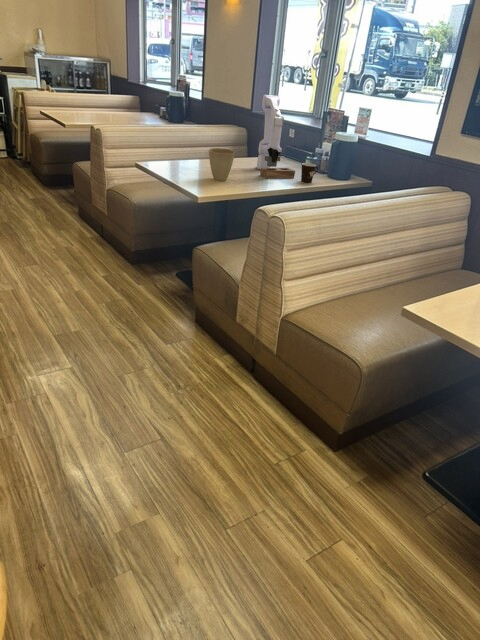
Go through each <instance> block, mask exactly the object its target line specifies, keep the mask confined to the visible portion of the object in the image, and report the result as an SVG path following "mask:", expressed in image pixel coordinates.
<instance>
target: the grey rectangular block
mask: <svg viewBox="0 0 480 640" xmlns="http://www.w3.org/2000/svg"><path fill="white" fill-rule="evenodd" d="M265 161H267V166H269V167H270V168H277V165H278V162H280V161H281V156H280V155H279V156H278V158H277V161H276V163H273V162H272V156H265Z"/></svg>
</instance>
